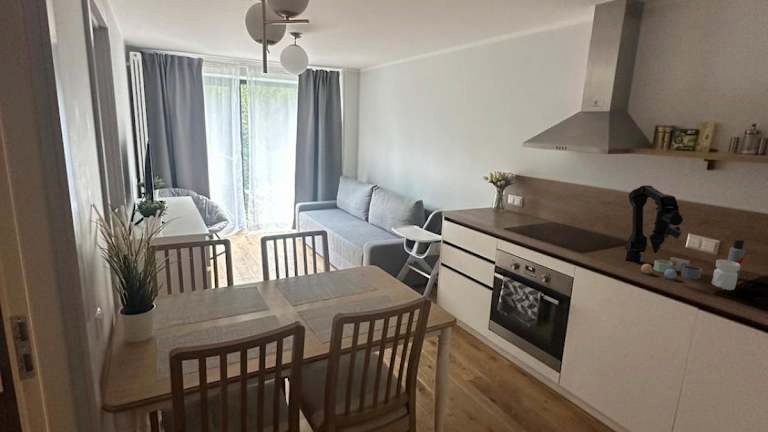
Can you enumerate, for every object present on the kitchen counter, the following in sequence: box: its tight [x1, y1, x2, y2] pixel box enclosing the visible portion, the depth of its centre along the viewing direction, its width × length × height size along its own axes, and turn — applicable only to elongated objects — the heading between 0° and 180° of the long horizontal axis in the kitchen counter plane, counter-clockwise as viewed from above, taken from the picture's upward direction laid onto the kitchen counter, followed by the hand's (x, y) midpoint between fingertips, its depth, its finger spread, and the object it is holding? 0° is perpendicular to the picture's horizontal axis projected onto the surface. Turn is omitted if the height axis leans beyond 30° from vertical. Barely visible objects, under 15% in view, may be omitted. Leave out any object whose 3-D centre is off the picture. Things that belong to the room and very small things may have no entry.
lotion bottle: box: [727, 238, 746, 280], centre depth 204 cm, size 6×6×20 cm
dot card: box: [669, 256, 690, 273], centre depth 212 cm, size 8×1×7 cm, turn 47°
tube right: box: [680, 264, 703, 280], centre depth 205 cm, size 8×8×5 cm
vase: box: [711, 259, 740, 291], centre depth 194 cm, size 9×9×12 cm
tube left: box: [652, 259, 673, 274], centre depth 213 cm, size 8×8×5 cm
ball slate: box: [663, 269, 677, 279], centre depth 201 cm, size 5×5×5 cm
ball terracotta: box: [640, 263, 654, 274], centre depth 208 cm, size 5×5×5 cm
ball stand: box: [640, 271, 676, 282], centre depth 205 cm, size 16×6×1 cm, turn 47°
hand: (657, 250), depth 205 cm, fingers open, 9 cm apart
